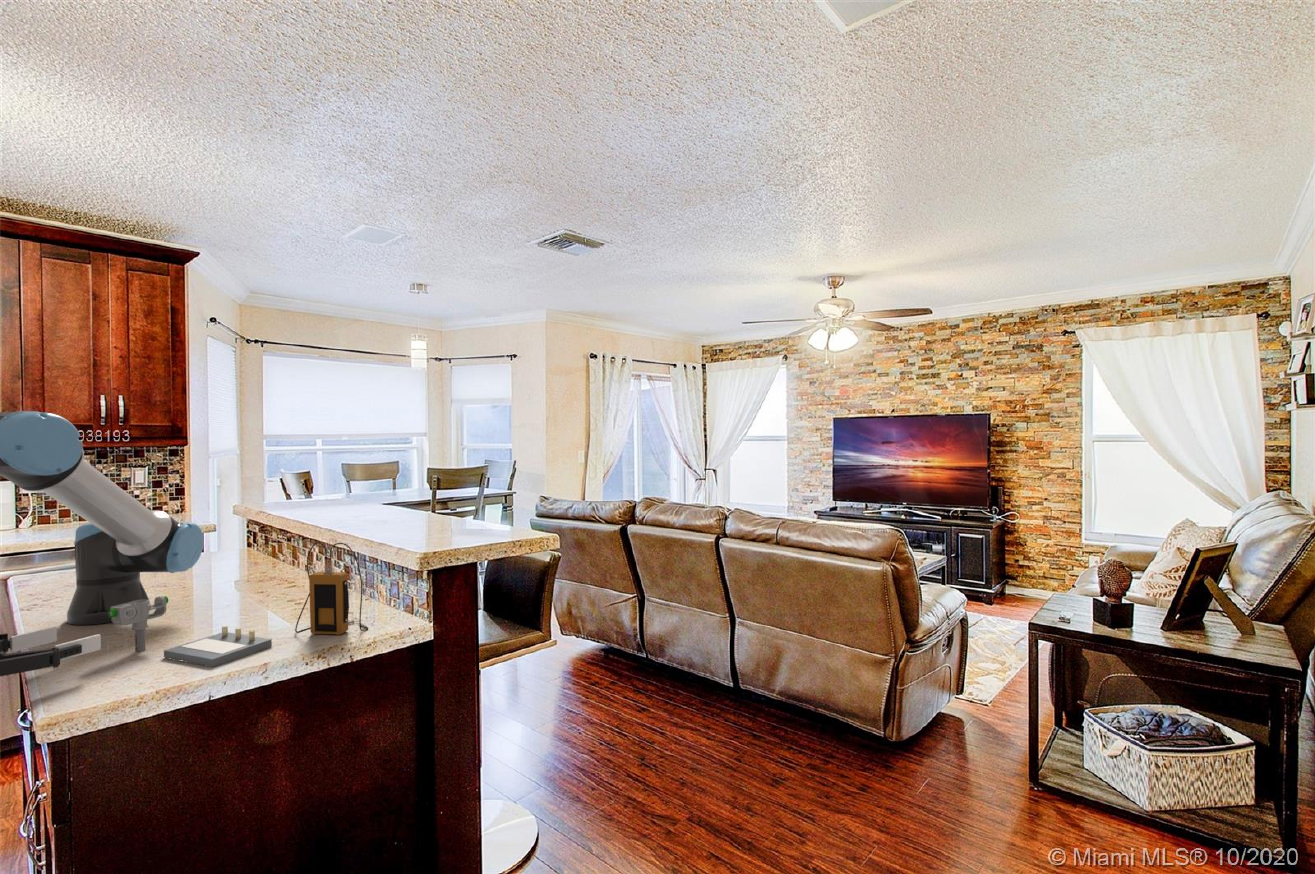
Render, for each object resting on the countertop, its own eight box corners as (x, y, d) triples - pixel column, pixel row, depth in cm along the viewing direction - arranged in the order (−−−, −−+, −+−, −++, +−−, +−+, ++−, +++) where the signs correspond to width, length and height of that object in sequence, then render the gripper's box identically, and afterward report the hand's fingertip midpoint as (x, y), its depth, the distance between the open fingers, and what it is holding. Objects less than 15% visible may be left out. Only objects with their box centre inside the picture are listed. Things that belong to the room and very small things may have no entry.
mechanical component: (171, 643, 134) (170, 595, 134) (116, 660, 125) (115, 608, 125) (161, 641, 135) (160, 594, 135) (106, 658, 126) (105, 607, 126)
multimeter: (382, 621, 148) (380, 535, 148) (357, 636, 138) (356, 543, 138) (321, 620, 150) (320, 534, 149) (293, 634, 140) (291, 542, 139)
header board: (163, 657, 126) (163, 640, 126) (224, 638, 137) (224, 622, 137) (212, 667, 121) (212, 648, 121) (271, 646, 132) (271, 629, 132)
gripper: (-126, 692, 105) (38, 649, 125) (-44, 716, 96) (119, 666, 116) (-127, 646, 105) (37, 611, 125) (-45, 666, 96) (118, 624, 116)
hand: (77, 637), depth 120 cm, fingers open, 13 cm apart
